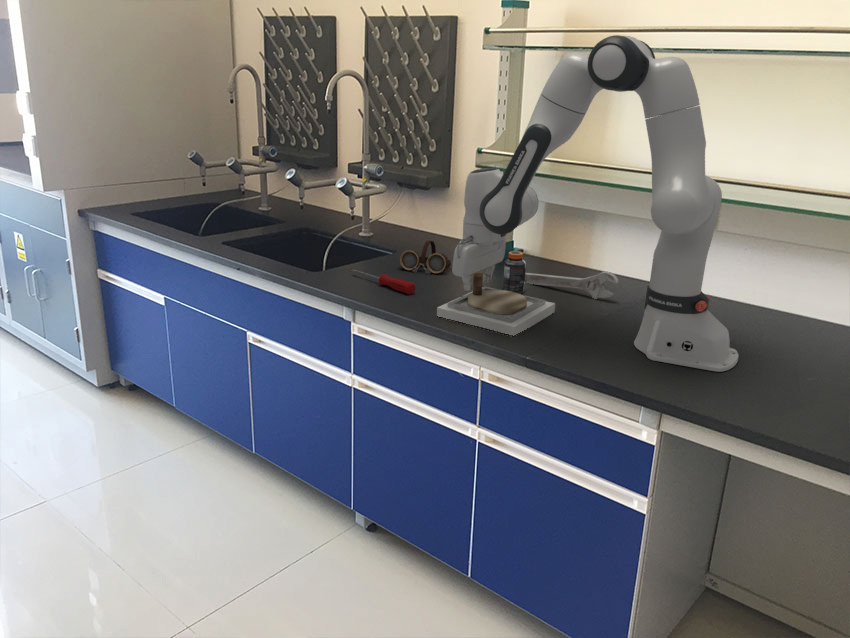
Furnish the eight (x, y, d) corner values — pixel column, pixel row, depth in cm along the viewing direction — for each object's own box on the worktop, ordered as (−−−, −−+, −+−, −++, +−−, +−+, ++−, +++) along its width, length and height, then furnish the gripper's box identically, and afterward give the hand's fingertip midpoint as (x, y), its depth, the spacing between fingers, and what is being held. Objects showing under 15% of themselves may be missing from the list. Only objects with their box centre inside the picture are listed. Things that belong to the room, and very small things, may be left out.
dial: (537, 302, 185) (539, 277, 182) (508, 318, 173) (510, 291, 171) (486, 291, 193) (488, 267, 190) (456, 305, 181) (457, 279, 179)
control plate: (554, 312, 186) (555, 299, 185) (513, 336, 169) (514, 323, 168) (481, 295, 198) (482, 283, 197) (436, 316, 181) (437, 303, 180)
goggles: (396, 270, 218) (399, 237, 217) (410, 269, 231) (413, 238, 229) (444, 276, 214) (447, 242, 213) (455, 274, 226) (459, 242, 225)
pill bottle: (526, 290, 204) (529, 251, 200) (520, 295, 199) (523, 256, 195) (506, 287, 206) (509, 248, 202) (499, 292, 201) (502, 253, 197)
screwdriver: (357, 274, 215) (357, 263, 214) (416, 293, 199) (416, 281, 198) (348, 276, 212) (348, 265, 211) (407, 296, 196) (407, 284, 195)
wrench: (523, 290, 213) (618, 301, 195) (519, 292, 212) (615, 302, 193) (522, 264, 211) (618, 272, 193) (518, 265, 210) (615, 273, 191)
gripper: (469, 242, 170) (466, 297, 175) (510, 227, 186) (507, 278, 191) (447, 238, 174) (445, 292, 178) (489, 224, 189) (487, 274, 194)
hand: (477, 285), depth 185 cm, fingers open, 8 cm apart
